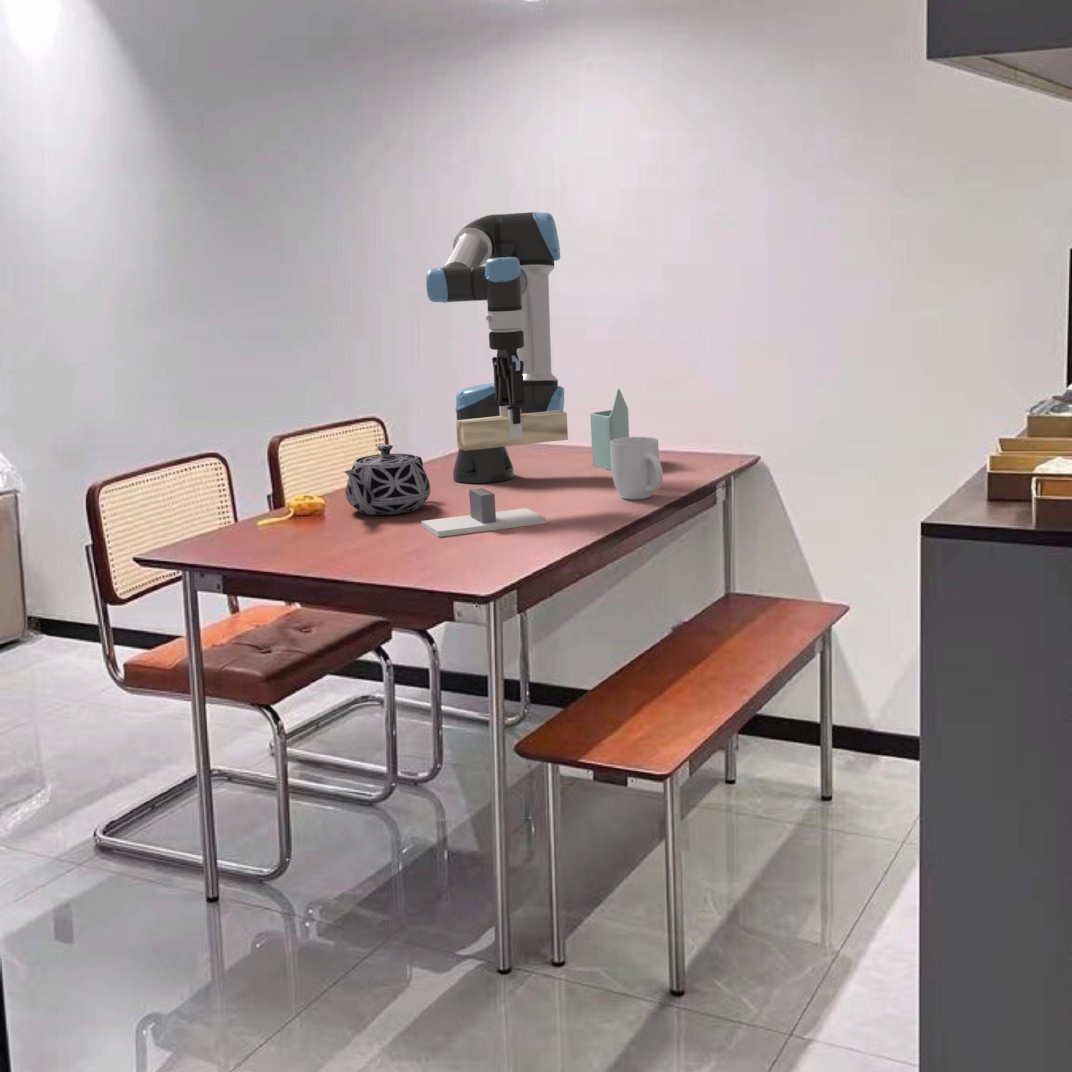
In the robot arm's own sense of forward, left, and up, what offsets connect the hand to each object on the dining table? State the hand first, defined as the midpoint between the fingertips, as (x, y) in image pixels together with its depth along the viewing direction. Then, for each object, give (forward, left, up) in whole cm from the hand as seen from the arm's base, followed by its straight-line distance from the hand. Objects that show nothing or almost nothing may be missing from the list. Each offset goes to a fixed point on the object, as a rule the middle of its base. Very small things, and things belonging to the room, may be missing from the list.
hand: (511, 436), depth 323 cm
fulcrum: (+10, -11, -17) cm, 22 cm away
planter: (-42, +40, -17) cm, 61 cm away
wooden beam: (0, 0, -2) cm, 2 cm away
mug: (+2, +29, -17) cm, 34 cm away
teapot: (-17, -25, -17) cm, 35 cm away
